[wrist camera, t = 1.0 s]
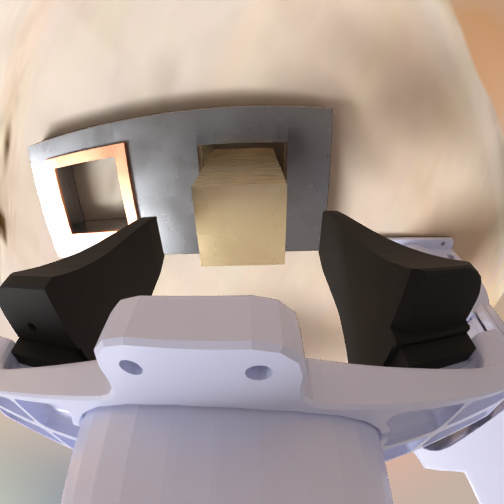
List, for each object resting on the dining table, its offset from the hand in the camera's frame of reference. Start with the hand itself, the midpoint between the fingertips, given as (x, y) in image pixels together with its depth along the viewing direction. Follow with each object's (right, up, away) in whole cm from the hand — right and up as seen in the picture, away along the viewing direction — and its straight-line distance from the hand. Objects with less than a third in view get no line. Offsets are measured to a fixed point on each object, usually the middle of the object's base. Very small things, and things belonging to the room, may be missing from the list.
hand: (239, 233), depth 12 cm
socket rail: (-5, +4, +7) cm, 10 cm away
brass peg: (0, +5, +7) cm, 9 cm away
